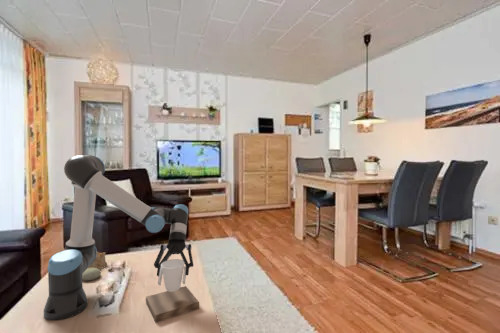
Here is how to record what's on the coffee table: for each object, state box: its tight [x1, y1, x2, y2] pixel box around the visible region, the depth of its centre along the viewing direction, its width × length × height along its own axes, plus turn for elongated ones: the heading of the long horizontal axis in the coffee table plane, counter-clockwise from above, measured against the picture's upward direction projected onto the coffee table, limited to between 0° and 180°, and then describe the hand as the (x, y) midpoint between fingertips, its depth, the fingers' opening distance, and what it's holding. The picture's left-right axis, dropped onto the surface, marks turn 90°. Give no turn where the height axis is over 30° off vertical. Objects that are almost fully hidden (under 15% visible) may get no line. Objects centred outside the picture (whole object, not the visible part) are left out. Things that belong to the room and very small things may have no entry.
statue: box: [88, 250, 108, 270], centre depth 154 cm, size 12×14×10 cm
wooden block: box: [145, 285, 200, 324], centre depth 115 cm, size 18×16×3 cm
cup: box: [161, 258, 185, 292], centre depth 115 cm, size 10×10×11 cm
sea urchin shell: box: [82, 268, 102, 282], centre depth 140 cm, size 9×8×8 cm
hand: (171, 283), depth 112 cm, fingers closed on cup, 9 cm apart
